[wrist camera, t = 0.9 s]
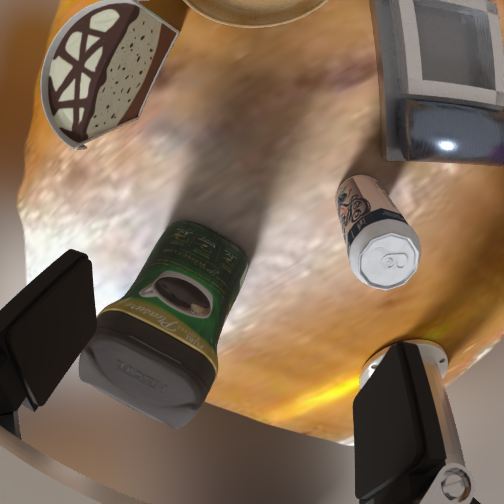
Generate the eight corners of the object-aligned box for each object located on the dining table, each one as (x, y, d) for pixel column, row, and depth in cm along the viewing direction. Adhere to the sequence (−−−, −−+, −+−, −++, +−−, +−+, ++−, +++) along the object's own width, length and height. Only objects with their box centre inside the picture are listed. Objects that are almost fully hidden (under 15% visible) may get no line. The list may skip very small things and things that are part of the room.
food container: (135, 1, 22) (73, -21, 14) (187, 18, 23) (136, -7, 14) (88, 109, 28) (20, 126, 19) (133, 132, 29) (71, 155, 20)
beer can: (333, 174, 28) (351, 227, 18) (384, 172, 27) (429, 224, 17) (335, 223, 30) (349, 297, 20) (384, 221, 29) (420, 293, 19)
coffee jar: (152, 264, 36) (63, 387, 20) (176, 206, 32) (68, 326, 16) (227, 304, 37) (178, 448, 21) (261, 252, 33) (219, 408, 17)
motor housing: (490, 161, 24) (527, 182, 18) (381, 155, 27) (402, 175, 21) (482, 6, 17) (519, -6, 11) (366, -14, 19) (383, -40, 13)
